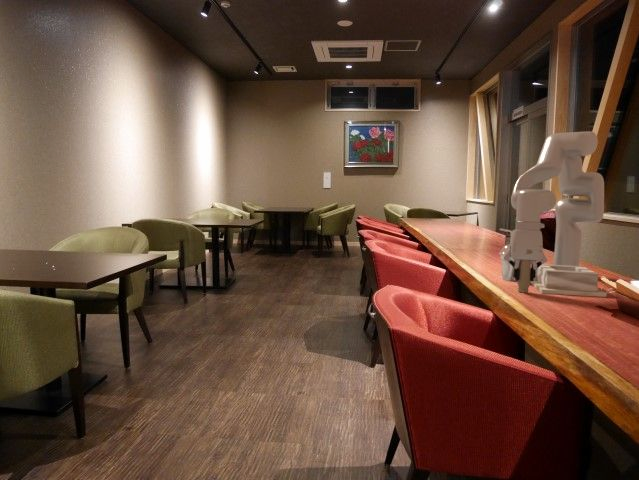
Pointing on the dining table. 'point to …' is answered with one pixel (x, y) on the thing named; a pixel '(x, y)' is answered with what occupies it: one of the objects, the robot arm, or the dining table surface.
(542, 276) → the socket holder
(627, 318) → the dining table surface
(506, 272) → the cup with straw
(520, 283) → the handle
